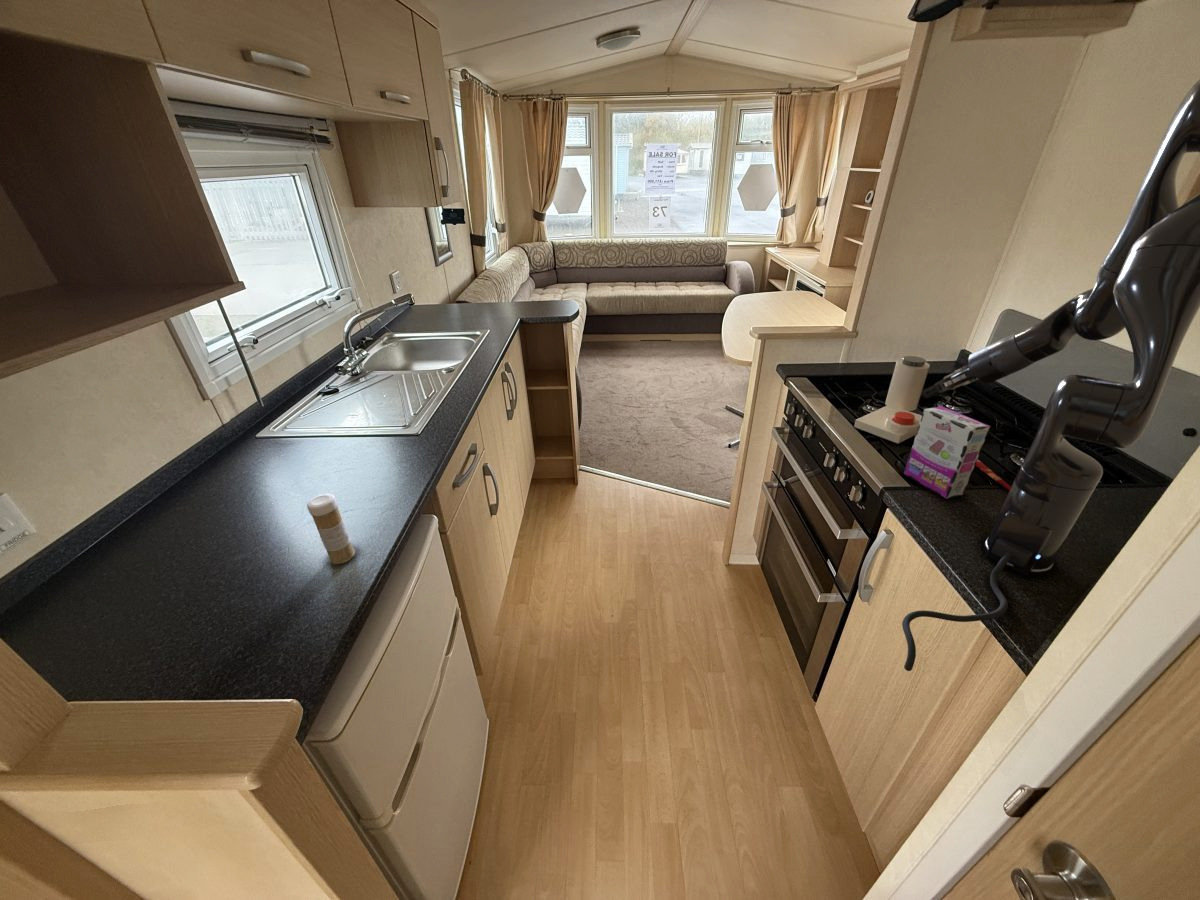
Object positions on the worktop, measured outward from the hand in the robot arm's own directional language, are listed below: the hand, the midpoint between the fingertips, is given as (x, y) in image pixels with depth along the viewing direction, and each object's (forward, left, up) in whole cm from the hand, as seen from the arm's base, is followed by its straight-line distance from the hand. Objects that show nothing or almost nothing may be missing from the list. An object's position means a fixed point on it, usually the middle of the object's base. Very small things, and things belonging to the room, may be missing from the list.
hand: (925, 394), depth 117 cm
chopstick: (-3, -18, -13) cm, 22 cm away
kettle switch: (0, +3, -9) cm, 10 cm away
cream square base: (+3, +7, -13) cm, 15 cm away
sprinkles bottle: (-130, +39, -13) cm, 136 cm away
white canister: (+9, +9, -9) cm, 15 cm away
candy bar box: (-17, -13, -13) cm, 25 cm away
